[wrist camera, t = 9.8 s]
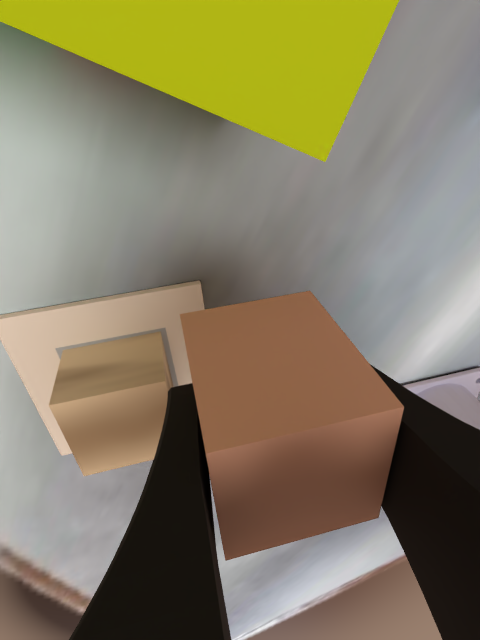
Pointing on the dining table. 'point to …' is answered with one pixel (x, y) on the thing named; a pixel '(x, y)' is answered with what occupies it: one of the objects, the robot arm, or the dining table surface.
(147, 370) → the maple block
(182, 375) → the square frame
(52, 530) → the dining table surface
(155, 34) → the puzzle toy
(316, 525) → the terracotta block
